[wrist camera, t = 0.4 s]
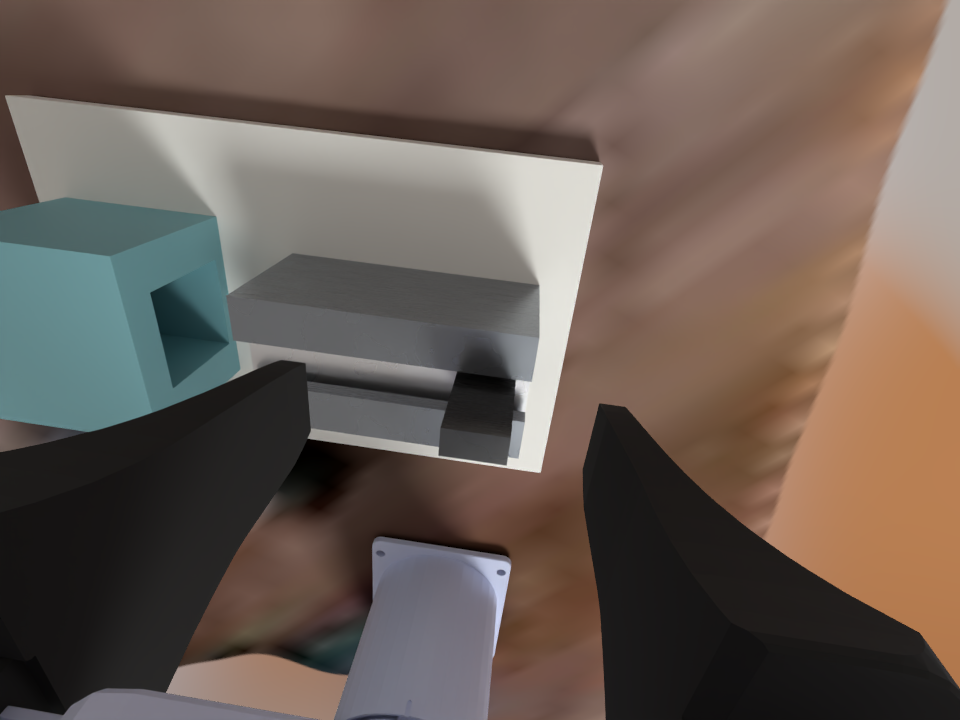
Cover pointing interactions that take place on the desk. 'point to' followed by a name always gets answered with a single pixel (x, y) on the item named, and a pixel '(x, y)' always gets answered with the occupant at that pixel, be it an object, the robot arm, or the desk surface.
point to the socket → (109, 312)
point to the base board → (337, 209)
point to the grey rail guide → (390, 335)
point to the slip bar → (425, 396)
